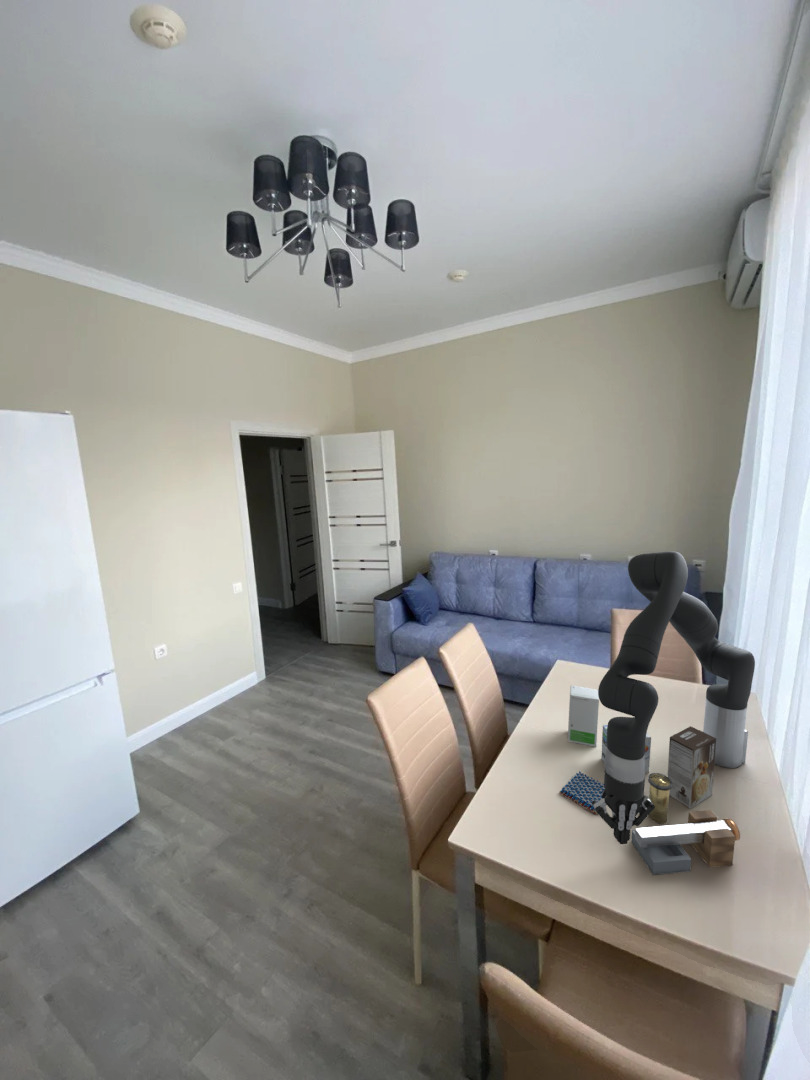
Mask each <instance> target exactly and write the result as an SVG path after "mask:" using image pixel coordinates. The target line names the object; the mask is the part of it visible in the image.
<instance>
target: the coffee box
mask: <svg viewBox="0 0 810 1080" xmlns="http://www.w3.org/2000/svg"><path fill="white" fill-rule="evenodd" d="M668 745H669V746H668V759H667V760H668V762H667V764H668V765H667V777H668V778H669V779H670V780H671V781H672V788H671V789H670V791H669V796H671V797H672V798H673V799H676V800H677V801H678V802H680V803H682V804H683V805H685V806H686V807H688V808H689V809H693V808H694V807H695V806H698V805H699V804H700V803H702V802H703V801H705V800H706V799H708V798H709V797H711V796H712V795H713V787H714V775H715V772H714V771H715V764H714V763H715V749H716V738H715V737H712V736H710V735H708V734H706V733H704V732H703V730H700V729H697V728H695V727H693V726H688V727H686V728H684V729H683V730H681V731H679V732H677V733H675V734H673V735H671V736H669V744H668Z"/></svg>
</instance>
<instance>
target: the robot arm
mask: <svg viewBox="0 0 810 1080" xmlns="http://www.w3.org/2000/svg"><path fill="white" fill-rule="evenodd" d="M627 565H628V566H627V571H628V576H629V579H630V581H631V583H632V585H633V587H634V588H635V589H636V590H637V591H638V592H639V593H640V594H641V595H642V596H643V597H644V598H646V599H647V600H648V601H649V602H650V603H649V604H648V605H647V606H646V607H645V608H644V609H643V610H642V611H640V613H639V614H637V616H635V617H634V618H633V619H632V620H631V622H630V623H629V625H628V626H627V628H626V630H625V633H624V635H623V639H622V641H621V646H620V648H619V653H618V654H617V657H616V658H615V660H614V661H613V663H612V665H611V666H610V668H609V669H608V670H607V672H606V673H605V675H604V676H603V677H602V679H601V681H600V682H599V685H598V689H597V690H598V696H599V703H601V705H602V706H604V707H605V708H607V709H609V710H612V711H616V712H618V713H622V714H624V715H629V716H630V717H629V716H615V717H612V718H611V719H609V721H608V723H607V724H606V725H607V746H606V751H605V763H604V771H603V784H604V788H605V790H604V792H603V794H602V799H601V800H600V801H598V802H597V801H592V805H593V807H594V809H595V810H596V812H597V813H598V816H599V817H600V818H601V819H602V820H603V821H604V822H605V824H607V826H608V827H609V828H610V829H612V830H613V837H614V838H615V840H616V841H617V842H618V844H620V845H628V843H629V841H631V840H630V839H631V829H633V827H634V826H635V827H640V826H641V825H642V823H644V821H645V820H646V818H648V817H649V816H648V815H649V814H650V813H651V812H652V810H653V809H654V808H655V806H654V804H653V803H652V802H651V800H650V799H649V796H647V795H645V785H646V784H645V783H646V782H645V780H646V773H645V767H646V763H645V740H646V733H648V728H649V725H650V723H651V720H652V718H653V716H654V714H655V712H656V710H657V707H658V705H659V694H658V691H657V690H656V688H655V687H654V685H652V684H651V683H649V682H647V681H644V680H639V679H635V678H631V677H629V676H635V675H641V676H647V675H650V674H652V673H653V672H655V670H656V666H657V664H658V659H659V655H660V651H661V646H662V641H663V639H664V636H665V633H666V630H667V627H668V625H669V623H670V625H671V626H672V627H673V629H674V630H675V631H676V632H677V633H678V634H679V636H681V638H682V639H683V640H684V641H685V642H686V644H687V645H688V646H689V647H690V649H692V651H693V653H694V655H695V656H696V658H697V659H698V661H699V663H700V664H701V666H702V667H703V669H704V670H706V672H709V673H710V674H712V675H714V676H717V677H720V679H721V678H722V679H724V680H727V681H728V684H726V683H725V684H722V683H717V684H716V683H715V684H711V685H709V686H708V687H707V688H706V693H705V701H704V702H705V703H704V704H705V705H704V716H703V717H704V718H703V729H702V732H704V733H706V734H708V735H710V736H712V737H715V738H716V749H715V763H714V765H717V766H720V767H723V768H727V769H728V768H729V769H733V768H738V767H740V766H741V765H742V764H745V763H746V759H747V758H746V757H747V747H748V738H749V730H747V729H746V724H747V723H746V721H747V710H748V702H749V699H750V695H751V691H752V686H753V685H752V684H753V679H754V675H755V667H756V666H755V665H756V660H755V656H754V654H753V653H752V652H751V651H749V650H746V649H744V648H741V647H737V646H734V645H731V644H728V643H725V642H723V641H720V640H719V639H718V638H717V637H716V635H717V634H718V631H719V624H718V620H717V618H716V617H715V615H714V614H713V612H712V611H711V609H710V608H709V606H707V605H706V604H705V602H703V601H702V600H701V599H699V598H697V597H696V596H693V595H691V594H689V593H687V592H685V588H686V585H687V582H688V577H689V569H688V564H687V562H686V559H685V557H684V556H683V555H682V554H681V553H680V552H677V551H660V552H650V553H648V552H647V553H641V554H637V555H634V556H633V557H632V558H631V559H630V560H629V562H628V564H627ZM607 807H608V808H607ZM607 809H610V811H611V816H610V814H609V813H608V811H607ZM638 814H639V815H638ZM637 815H638V816H637Z"/></svg>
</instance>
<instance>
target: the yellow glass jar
mask: <svg viewBox="0 0 810 1080" xmlns="http://www.w3.org/2000/svg"><path fill="white" fill-rule="evenodd" d="M647 777H648V778H647V780H648V783H649V794H648V798H649V799H650V800H651V802H652V803H653V804H654V806H655V808H654V809H653V810H652V812H651V813H650V814H649V815H648V816H647V817H649V818H650V820H651V821H652V822H654V823H655V824H656V823H657V824H659V825H660V824H661V825H665V824H666V823H668V820H669V817H668V816H669V807H670V806H669V805H670V795H669V791H670V789H671V788H672V781H671V780H670V779H669V778H668V775H667V776H666V775H665V774H662V773H659V772H652V773H650V774H649V775H648V776H647Z"/></svg>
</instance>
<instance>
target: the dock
mask: <svg viewBox="0 0 810 1080" xmlns="http://www.w3.org/2000/svg"><path fill="white" fill-rule="evenodd" d="M630 839H631V840H630V842H631V844H632V845H633V847H634V848H635V850H636V851H637V853H638V854H639V856H640V858H641V859H642V860H643V862H644V864H645V866H646V867H647V868H648V870H649V871H650V873H651V874H652V876H656V875H657V876H658V875H667V874H668V875H669V874H679V873H686V872H687V873H688V872H691V867H692V858H691V856H690V855H689V854H688V853H687V852H686V851H685V849H684V847H682V844H678V845H668V846H657V847H646V848H641V847H640V845H639V844H638V842H637V841H636V839H635V829H634V830H633V829H632V830H631V836H630Z"/></svg>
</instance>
